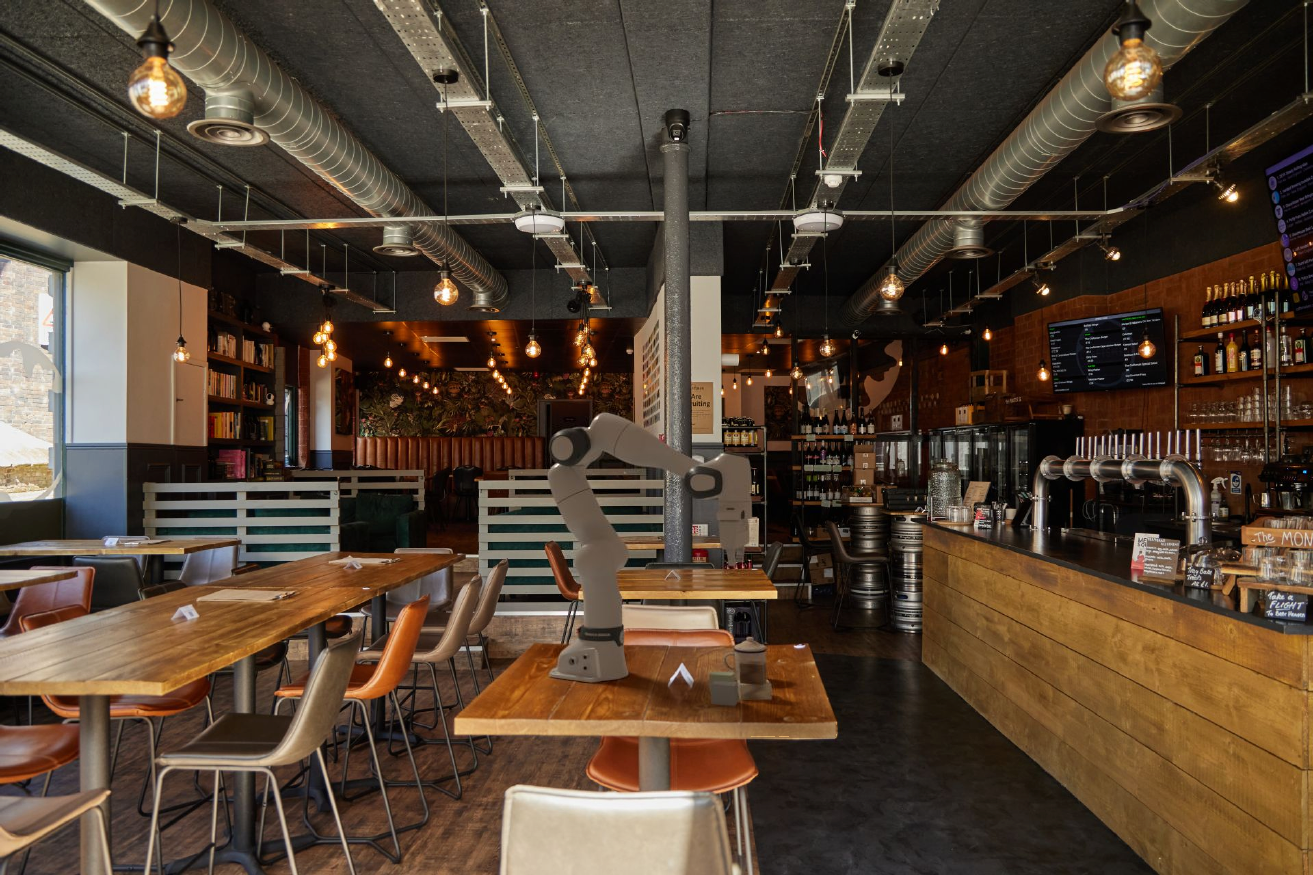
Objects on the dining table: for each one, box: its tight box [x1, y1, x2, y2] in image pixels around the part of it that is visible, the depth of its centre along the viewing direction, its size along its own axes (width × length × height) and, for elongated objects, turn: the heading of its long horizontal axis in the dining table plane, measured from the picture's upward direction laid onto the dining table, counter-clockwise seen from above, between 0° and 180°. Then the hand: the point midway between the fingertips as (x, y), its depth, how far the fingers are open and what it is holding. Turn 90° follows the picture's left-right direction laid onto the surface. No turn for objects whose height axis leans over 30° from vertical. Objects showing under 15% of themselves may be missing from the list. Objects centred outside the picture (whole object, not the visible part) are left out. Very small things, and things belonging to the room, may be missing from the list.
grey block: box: [710, 681, 739, 707], centre depth 215 cm, size 6×4×5 cm, turn 72°
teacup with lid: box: [723, 636, 768, 681], centre depth 239 cm, size 12×9×12 cm
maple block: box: [736, 679, 773, 701], centre depth 220 cm, size 8×5×4 cm, turn 94°
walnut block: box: [740, 660, 767, 685], centre depth 221 cm, size 6×4×5 cm, turn 68°
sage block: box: [708, 671, 736, 694], centre depth 225 cm, size 6×4×5 cm, turn 73°
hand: (736, 563), depth 230 cm, fingers open, 8 cm apart
